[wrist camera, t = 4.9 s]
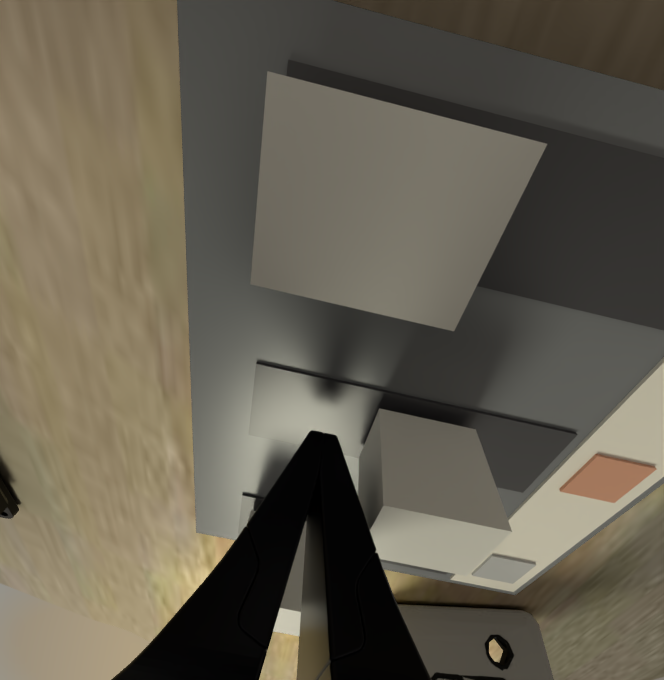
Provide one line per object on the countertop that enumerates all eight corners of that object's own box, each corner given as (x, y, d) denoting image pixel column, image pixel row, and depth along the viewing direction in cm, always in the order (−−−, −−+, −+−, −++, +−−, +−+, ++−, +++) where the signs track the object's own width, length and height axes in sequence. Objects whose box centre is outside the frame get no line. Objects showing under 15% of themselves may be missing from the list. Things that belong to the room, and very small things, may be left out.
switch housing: (208, 502, 17) (194, 536, 16) (211, -12, 7) (169, -48, 5) (504, 561, 18) (516, 599, 16) (931, 181, 7) (1066, 196, 6)
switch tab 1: (247, 538, 15) (223, 622, 12) (251, 510, 14) (225, 597, 11) (312, 551, 15) (301, 636, 13) (322, 524, 14) (313, 614, 11)
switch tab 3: (359, 457, 11) (356, 554, 9) (379, 407, 10) (383, 505, 7) (444, 475, 11) (466, 576, 9) (475, 429, 10) (512, 531, 8)
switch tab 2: (290, 228, 7) (250, 283, 5) (309, 92, 6) (267, 71, 3) (424, 259, 7) (454, 331, 5) (472, 134, 6) (547, 144, 4)
